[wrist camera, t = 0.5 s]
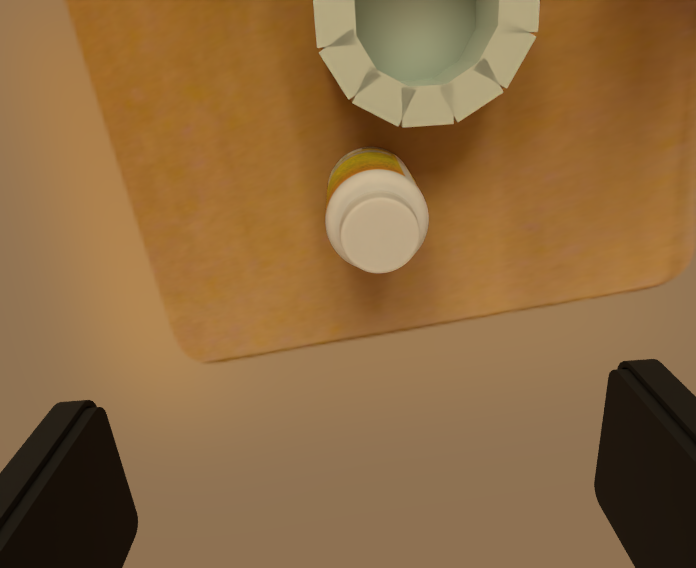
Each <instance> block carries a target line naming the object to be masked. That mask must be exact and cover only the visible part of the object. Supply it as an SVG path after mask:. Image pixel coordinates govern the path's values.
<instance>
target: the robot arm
mask: <svg viewBox="0 0 696 568" xmlns="http://www.w3.org/2000/svg"><path fill="white" fill-rule="evenodd" d="M594 487H595V493H596V497H597V500H598V502H599V505H600V506H601V508H602V510H603V512H604V513H605V515H606V517H607V519H608V520H609V522H610V524H611V526H612V527H613V529H614V531H615V533H616V534H617V536H618V538H619V540H620V541H621V543H622V545H623V547H624V548H625V550H626V552H627V554H628V555H629V557H630V559H631V561H632V563H633V564H634V566H635V568H696V397H695V396H694V395H693V394H692V393H691V392H690V391H689V390H688V389H687V388H686V387H685V386H684V385H683V384H682V383H681V382H680V381H679V380H678V379H677V378H676V377H675V376H674V375H673V374H672V373H671V372H670V371H669V370H668V369H667V368H666V367H665V366H664V365H663V364H662V363H660V362H659V361H658V360H655V359H647V360H634V361H623V362H621V363H620V364H619V366H618V369H617V370H612V371H611V372H610V374H609V378H608V385H607V392H606V400H605V407H604V415H603V422H602V429H601V437H600V444H599V453H598V459H597V467H596V474H595V482H594ZM137 527H138V516H137V512H136V509H135V505H134V502H133V499H132V496H131V492H130V489H129V486H128V483H127V480H126V477H125V473H124V469H123V466H122V463H121V460H120V457H119V453H118V450H117V447H116V443H115V440H114V437H113V434H112V430H111V427H110V424H109V421H108V418H107V414H106V412H105V410H104V409H103V408H101V407H97V406H96V404H95V403H94V402H93V401H90V400H83V401H71V402H60V403H57V404H56V405H55V406H53V408H52V409H51V410H50V411H49V413H48V414H47V415H46V417H45V418H44V419H43V420H42V421H41V423H40V424H39V425H38V426H37V428H36V429H35V430H34V431H33V433H32V434H31V435H30V437H29V438H28V439H27V440H26V442H25V443H24V444H23V445H22V447H21V448H20V449H19V450H18V452H17V453H16V454H15V455H14V457H13V458H12V459H11V460H10V462H9V463H8V464H7V465H6V467H5V468H4V469H3V471H2V472H1V473H0V568H122V567H123V565H124V562H125V560H126V557H127V555H128V552H129V550H130V548H131V545H132V543H133V541H134V538H135V535H136V532H137Z"/></svg>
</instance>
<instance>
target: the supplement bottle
mask: <svg viewBox="0 0 696 568" xmlns="http://www.w3.org/2000/svg"><path fill="white" fill-rule="evenodd" d="M325 223H326V232H327V235H328V238H329V241H330V243H331V245H332V247H333V248H334V250H335V251H336V252H337V253H338V255H339V256H340V257H342V258H343V259H344V260H345V261H346V262H348V263H350V264H351V265H353V266H356V267H358V268H360V269H362V270H364V271H366V272H370V273H388V272H392V271H394V270H397V269H399V268H401V267H402V266H404V265H405V264H406V263H407V262H408V261H409V260H410V259H411V258H412V257H413V255H414V254H415V253H416V252H417V251H418V250H419V248H420V247H421V245H422V244H423V242H424V239H425V237H426V234H427V230H428V225H429V213H428V208H427V204H426V201H425V199H424V196H423V194H422V193H421V191H420V189H419V187H418V186H417V184H416V182H415V180H414V178H413V177H412V175H411V173H410V172H409V170H408V168H407V167H406V165H405V164H404V163H403V162H402V160H401V159H400V158H399V157H397V156H396V155H395V154H393V153H392V152H390V151H388V150H385V149H382V148H378V147H363V148H359V149H356V150H353V151H351V152H349V153H348V154H346V155H345V156H344V157H342V158H341V159H340V160H339V161H338V162H337V164H336V165H335V166H334V168H333V170H332V172H331V174H330V177H329V181H328V186H327V201H326V214H325Z"/></svg>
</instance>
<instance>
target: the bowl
mask: <svg viewBox="0 0 696 568" xmlns="http://www.w3.org/2000/svg"><path fill="white" fill-rule="evenodd" d="M313 6H314V18H315V31H316V43H317V48H323V50H322V51H320V52H319V54H320V56H321V57H322V59H323V61H324V62H325V64H326V65H327V67H328V68H329V70H330V72H331V73H332V75H333V76H334V78H335V79H336V81H337V83H338V84H339V86H340V87H341V89H342V90H343V92H344V93H345V95H346V97H347V98H348V100H349V99H351V101H352V103H353V104H355V105H357V106H359V107H361V108H363V109H364V110H366V111H368V112H370V113H372V114H374V115H376V116H378V117H380V118H382V119H384V120H386V121H388V122H390V123H392V124H394V125H396V126H397V127H398V126H399V124H400V125H401V127H402V128H405V127H419V126H433V125H447V124H454V120H455V121H456V122H459V121H461V120H462V119H464V118H465V117H467V116H468V115H470V114H472V113H473V112H475V111H476V110H478V109H479V108H481V107H482V106H484V105H485V104H487V103H488V102H490V101H491V100H493V99H494V98H496V97H497V96H499V95H500V94H502V93H503V90H502V88H501V87H503V88H508V86H509V84H510V82H511V81H512V79H513V77H514V75H515V74H516V72H517V70H518V68H519V67H520V65H521V63H522V61H523V60H524V58H525V56H526V54H527V53H528V51H529V49H530V47H531V46H532V44H533V42H534V40H535V39H536V36H534V35H532V34H531V33H529V32H538V25H539V9H540V0H313Z"/></svg>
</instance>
